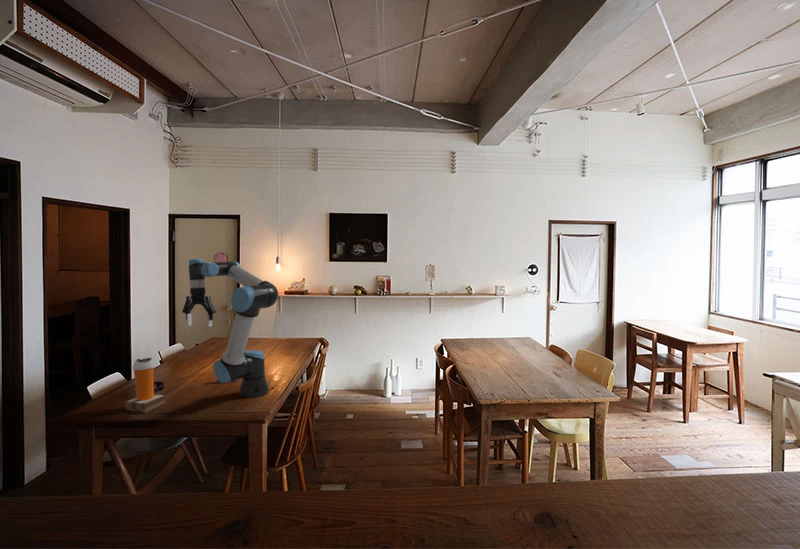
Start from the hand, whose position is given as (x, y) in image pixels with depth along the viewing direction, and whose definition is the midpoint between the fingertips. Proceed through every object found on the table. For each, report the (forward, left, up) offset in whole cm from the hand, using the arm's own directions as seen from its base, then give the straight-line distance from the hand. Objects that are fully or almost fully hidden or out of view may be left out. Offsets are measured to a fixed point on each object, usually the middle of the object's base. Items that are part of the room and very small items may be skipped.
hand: (199, 325), depth 229 cm
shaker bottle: (+12, +26, -32) cm, 43 cm away
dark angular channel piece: (-1, -18, -37) cm, 42 cm away
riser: (+12, +26, -37) cm, 46 cm away
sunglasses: (+29, +10, -37) cm, 48 cm away
